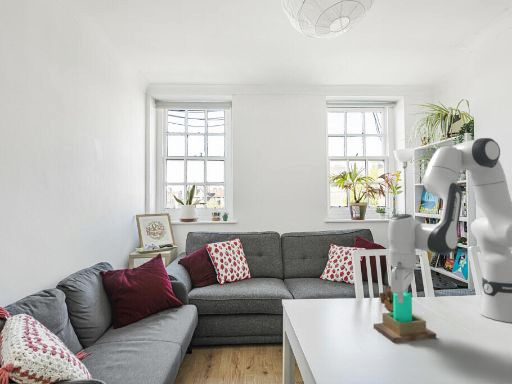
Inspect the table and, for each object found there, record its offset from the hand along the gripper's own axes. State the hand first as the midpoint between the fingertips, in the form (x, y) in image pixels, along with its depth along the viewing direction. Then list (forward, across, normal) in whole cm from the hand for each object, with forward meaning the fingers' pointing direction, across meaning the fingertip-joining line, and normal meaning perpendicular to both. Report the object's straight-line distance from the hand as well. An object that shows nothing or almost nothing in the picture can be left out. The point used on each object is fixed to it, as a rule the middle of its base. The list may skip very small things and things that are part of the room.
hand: (402, 299), depth 113 cm
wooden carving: (+12, +21, +8) cm, 26 cm away
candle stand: (+12, 0, 0) cm, 12 cm away
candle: (+8, 0, 0) cm, 9 cm away
